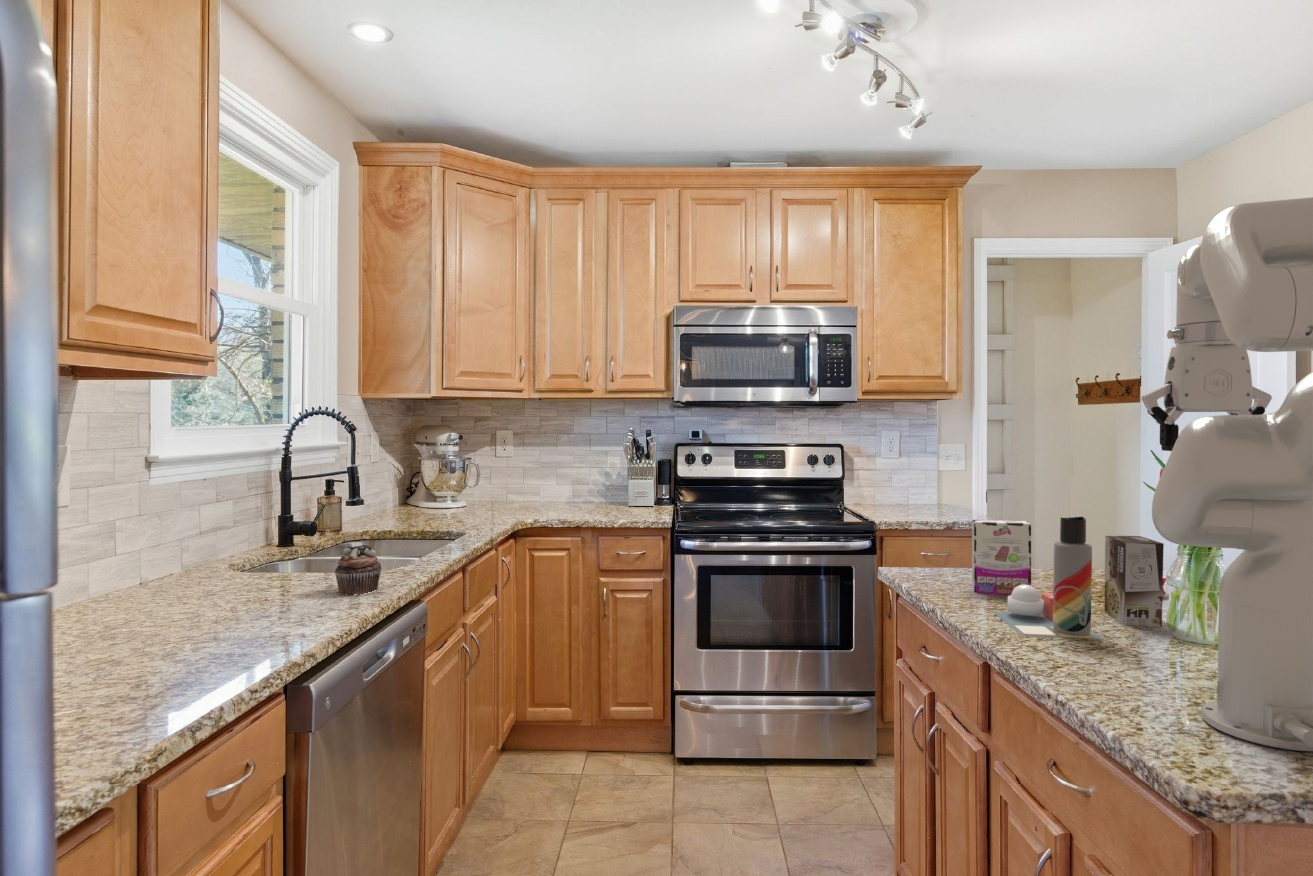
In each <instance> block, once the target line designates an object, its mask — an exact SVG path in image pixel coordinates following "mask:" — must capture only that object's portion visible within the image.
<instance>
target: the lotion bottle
mask: <svg viewBox="0 0 1313 876" xmlns="http://www.w3.org/2000/svg"><path fill="white" fill-rule="evenodd" d="M1059 519H1060V523H1059V525H1060V528H1059V529H1060V530H1059V531H1060V532H1059V535H1060V536H1059V541H1056V542H1054V543H1053V544H1054V545H1053V575H1052V576H1053V577H1052V580H1053V581H1052V583H1053V585H1052V588H1053V589H1052V590H1053V591H1052V594H1053V629H1054V630H1055V631H1057V632H1060V633H1063V634H1068V635H1076V636H1084V635H1089V634H1090V631H1092V630H1091V629H1092V627H1091V626H1092V584H1093V582H1092V580H1093V579H1092V577H1093V575H1092V574H1093V573H1092V572H1093V571H1092V570H1093V545H1091V544H1089V543H1086V542H1087V519H1086V517H1084V516H1070V517H1060V518H1059Z"/></svg>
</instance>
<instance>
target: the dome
mask: <svg viewBox="0 0 1313 876" xmlns="http://www.w3.org/2000/svg"><path fill="white" fill-rule="evenodd" d="M1007 612H1012V613H1015V614H1020V615H1028V616H1039V615H1043V614H1044V600H1043V599H1041V595H1040V593H1039V591H1038V590H1037V589H1036V588H1035V587H1034V586H1032V585H1031V586H1030V585H1025V584H1023V585H1019V586H1017V587H1015V588H1014V590H1013V591H1012V594H1011V595H1007Z"/></svg>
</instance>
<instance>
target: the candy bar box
mask: <svg viewBox="0 0 1313 876" xmlns="http://www.w3.org/2000/svg"><path fill="white" fill-rule="evenodd" d="M1023 584H1025V585H1030V586H1032V523H1030V522H1029V521H1028V520H1006V519H1005V520H1003V519H1002V520H1001V519H999V520H998V519H972V520H971V590H972V592H973V593H976V594H977V593H978V594H988V595H989V594H991V595H1007V596H1010V595H1011V594H1012V591H1013V590H1014V588H1015V587H1017V586H1019V585H1023Z"/></svg>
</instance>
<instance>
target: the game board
mask: <svg viewBox="0 0 1313 876" xmlns="http://www.w3.org/2000/svg"><path fill="white" fill-rule="evenodd" d="M1040 598H1041V599H1043V600H1044V614H1043V615H1039V616H1028V615H1020V614H1015V613H1012V612H1010V611H997V610H996V611H991V613H993V614H994V615H996V616H997V617H998V618H999V619H1000V620H1002V622H1005V624H1007V626H1009V627H1010V628H1012V630H1013V631H1015V632H1016V633H1018V634H1019V635H1020V636H1021V637H1029V638H1030V637H1031V638H1051V639H1053V638H1054V639H1055V638H1056V639H1074V640H1075V639H1076V640H1077V639H1078V640H1079V639H1080V640H1082V639H1083V640H1102V641H1103V640H1105V638H1103V637H1102V636H1101V635H1099V634H1097V633H1095V632H1094V631H1092V630H1091V631H1090V634H1091V635H1093V636H1094V638H1078V637H1062V636H1060V635H1059V634H1057V633H1056V632H1055V631H1053V630H1052V629H1050V627H1053V593H1048V592H1047V593H1045V592H1044V593H1042V592H1041V595H1040Z"/></svg>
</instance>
